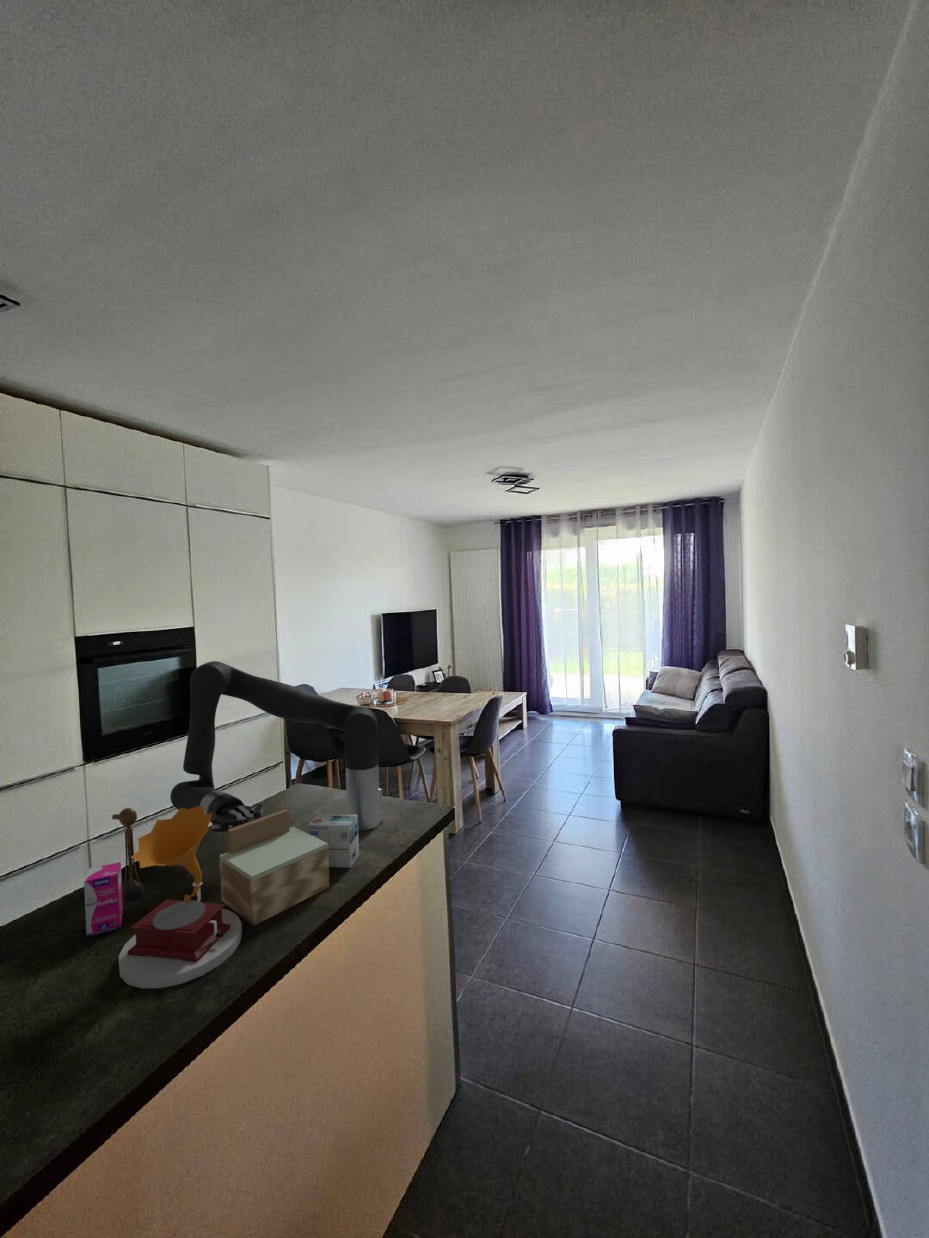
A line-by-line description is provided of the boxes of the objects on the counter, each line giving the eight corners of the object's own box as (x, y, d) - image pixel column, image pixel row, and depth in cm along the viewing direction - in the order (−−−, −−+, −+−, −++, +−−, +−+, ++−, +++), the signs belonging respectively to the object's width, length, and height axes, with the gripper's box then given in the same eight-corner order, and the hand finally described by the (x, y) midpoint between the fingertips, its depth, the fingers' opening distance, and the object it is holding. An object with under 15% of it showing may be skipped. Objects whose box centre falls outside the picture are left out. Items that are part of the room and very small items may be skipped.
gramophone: (173, 912, 113) (167, 796, 112) (262, 920, 109) (257, 800, 108) (89, 982, 93) (81, 841, 91) (196, 995, 89) (189, 848, 88)
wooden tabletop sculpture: (110, 901, 117) (105, 811, 116) (126, 889, 122) (122, 803, 121) (133, 903, 116) (129, 813, 115) (149, 891, 121) (145, 804, 120)
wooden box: (295, 867, 130) (293, 831, 130) (329, 886, 121) (328, 847, 121) (221, 900, 117) (219, 860, 116) (254, 925, 108) (252, 881, 107)
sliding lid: (293, 830, 130) (292, 806, 130) (328, 847, 121) (327, 821, 120) (219, 859, 116) (218, 832, 116) (252, 881, 107) (251, 852, 107)
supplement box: (85, 938, 105) (82, 881, 104) (90, 922, 110) (87, 867, 109) (121, 929, 107) (117, 873, 107) (124, 913, 113) (121, 860, 112)
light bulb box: (359, 854, 136) (358, 813, 135) (351, 868, 129) (350, 824, 129) (319, 853, 137) (317, 812, 136) (308, 867, 130) (307, 823, 130)
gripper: (193, 802, 129) (227, 821, 118) (246, 786, 139) (282, 802, 128) (195, 832, 130) (229, 854, 118) (247, 814, 140) (283, 833, 128)
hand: (256, 827), depth 123 cm, fingers closed
